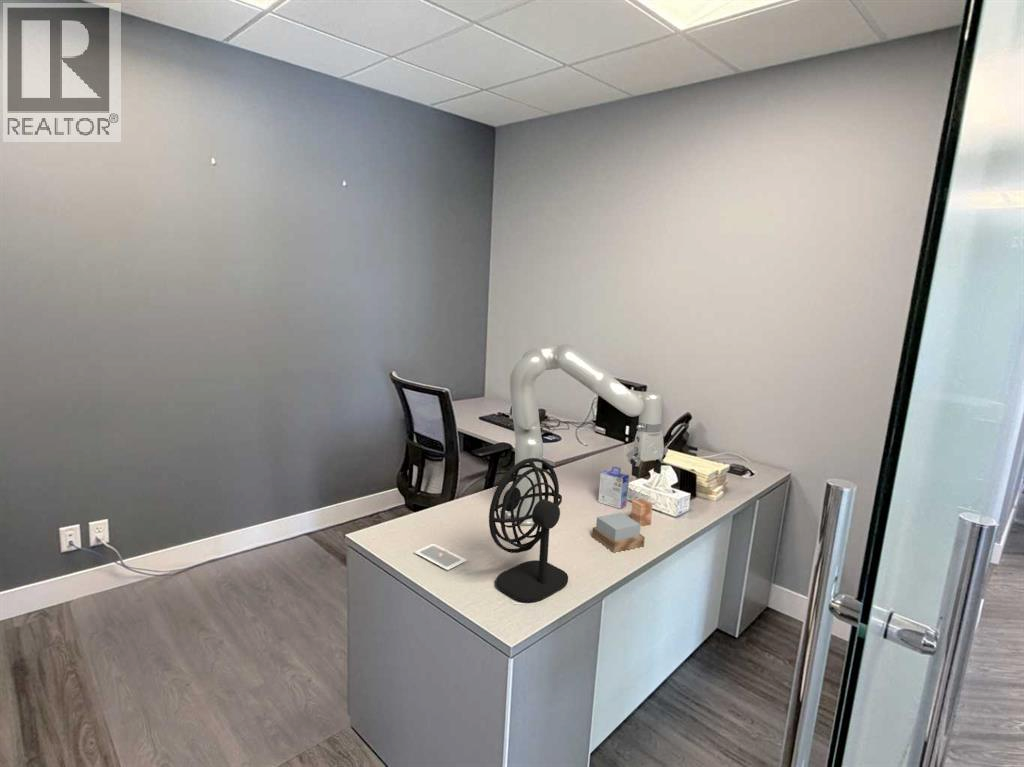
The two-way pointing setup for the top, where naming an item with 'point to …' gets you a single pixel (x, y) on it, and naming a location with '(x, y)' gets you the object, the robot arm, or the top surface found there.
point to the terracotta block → (641, 511)
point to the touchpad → (440, 556)
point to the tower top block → (618, 526)
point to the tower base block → (618, 542)
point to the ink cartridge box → (613, 488)
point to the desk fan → (528, 533)
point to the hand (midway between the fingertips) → (646, 474)
